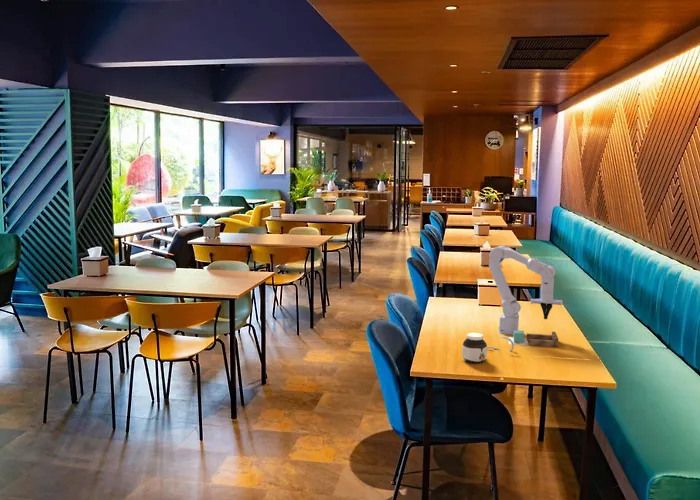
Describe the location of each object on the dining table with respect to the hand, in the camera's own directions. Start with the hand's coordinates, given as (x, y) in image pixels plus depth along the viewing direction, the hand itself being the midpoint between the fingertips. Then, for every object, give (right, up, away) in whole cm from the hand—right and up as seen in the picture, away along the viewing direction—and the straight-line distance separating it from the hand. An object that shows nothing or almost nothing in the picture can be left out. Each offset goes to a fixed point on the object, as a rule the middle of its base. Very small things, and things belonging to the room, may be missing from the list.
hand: (545, 318), depth 299 cm
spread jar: (-41, -15, -30) cm, 52 cm away
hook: (-30, -13, -17) cm, 37 cm away
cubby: (-8, -11, -6) cm, 15 cm away
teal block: (-14, -10, -5) cm, 18 cm away
